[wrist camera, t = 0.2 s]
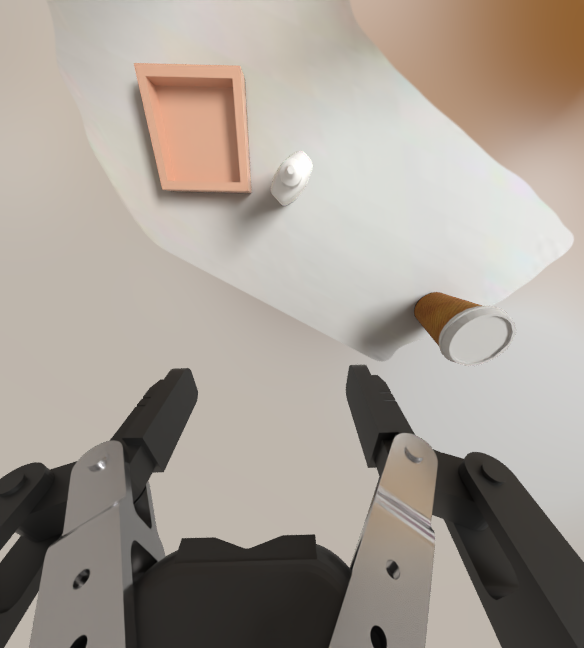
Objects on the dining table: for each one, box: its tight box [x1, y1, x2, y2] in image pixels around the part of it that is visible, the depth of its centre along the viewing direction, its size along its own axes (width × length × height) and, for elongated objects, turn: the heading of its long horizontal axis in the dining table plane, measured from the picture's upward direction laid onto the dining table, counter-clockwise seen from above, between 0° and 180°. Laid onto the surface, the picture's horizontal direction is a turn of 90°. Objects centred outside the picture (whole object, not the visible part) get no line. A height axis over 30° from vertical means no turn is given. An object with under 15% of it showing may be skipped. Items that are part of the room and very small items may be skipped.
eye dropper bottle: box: [271, 151, 313, 206], centre depth 26 cm, size 4×6×12 cm
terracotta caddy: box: [134, 63, 252, 193], centre depth 27 cm, size 12×12×2 cm
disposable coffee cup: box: [414, 292, 516, 366], centre depth 34 cm, size 10×10×12 cm
